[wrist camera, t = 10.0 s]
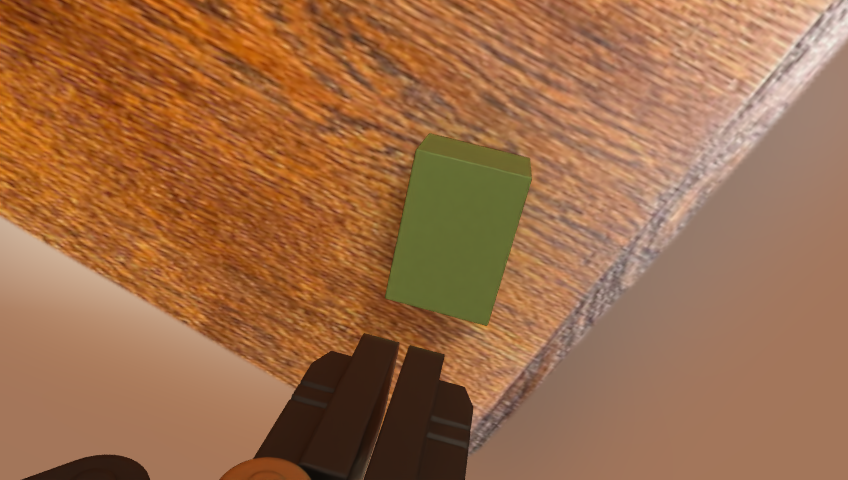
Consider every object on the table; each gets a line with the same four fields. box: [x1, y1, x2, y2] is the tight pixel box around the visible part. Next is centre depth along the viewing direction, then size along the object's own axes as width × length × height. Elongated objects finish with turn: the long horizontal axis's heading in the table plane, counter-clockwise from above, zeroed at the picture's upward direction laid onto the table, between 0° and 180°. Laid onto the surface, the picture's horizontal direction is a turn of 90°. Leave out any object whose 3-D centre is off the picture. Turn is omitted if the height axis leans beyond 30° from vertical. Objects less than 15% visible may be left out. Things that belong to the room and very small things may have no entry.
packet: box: [385, 134, 532, 326], centre depth 20 cm, size 6×4×3 cm
